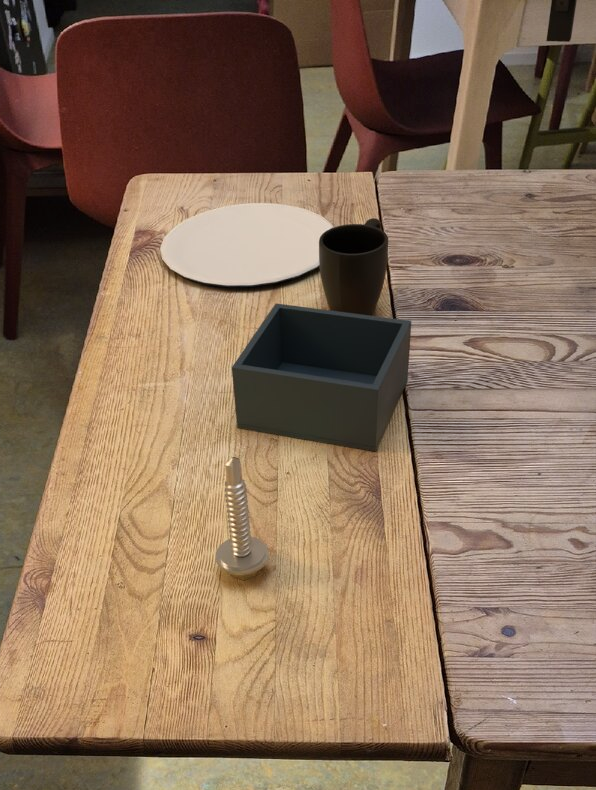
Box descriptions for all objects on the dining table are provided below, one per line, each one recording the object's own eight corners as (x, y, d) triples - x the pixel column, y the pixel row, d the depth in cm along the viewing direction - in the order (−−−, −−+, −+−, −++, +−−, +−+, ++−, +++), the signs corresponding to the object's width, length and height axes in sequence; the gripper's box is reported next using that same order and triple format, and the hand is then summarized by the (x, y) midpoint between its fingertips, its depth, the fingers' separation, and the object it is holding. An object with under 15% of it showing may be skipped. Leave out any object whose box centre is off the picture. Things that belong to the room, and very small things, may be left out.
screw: (217, 590, 84) (218, 553, 87) (270, 587, 84) (269, 551, 87) (202, 477, 75) (204, 441, 78) (262, 474, 74) (261, 438, 78)
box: (278, 362, 110) (275, 303, 104) (407, 381, 105) (411, 320, 100) (237, 428, 101) (231, 367, 96) (375, 451, 97) (378, 389, 91)
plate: (329, 204, 139) (329, 195, 138) (347, 285, 121) (347, 276, 120) (163, 216, 139) (162, 208, 138) (157, 299, 122) (156, 290, 121)
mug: (405, 289, 120) (410, 216, 113) (370, 334, 113) (372, 259, 106) (347, 278, 123) (348, 206, 116) (308, 321, 116) (307, 248, 109)
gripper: (566, -223, 101) (535, 25, 117) (547, -213, 92) (517, 53, 109) (639, -228, 99) (597, 26, 115) (626, -217, 90) (583, 55, 106)
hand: (558, 39), depth 112 cm, fingers closed
